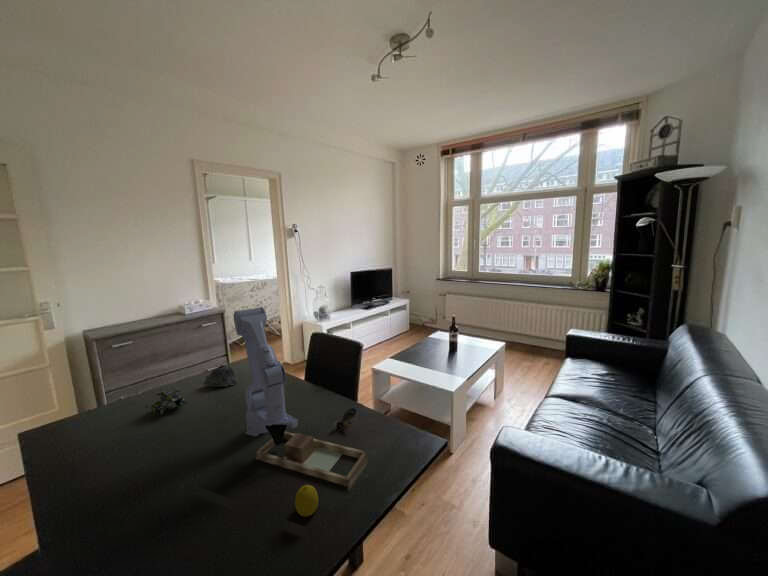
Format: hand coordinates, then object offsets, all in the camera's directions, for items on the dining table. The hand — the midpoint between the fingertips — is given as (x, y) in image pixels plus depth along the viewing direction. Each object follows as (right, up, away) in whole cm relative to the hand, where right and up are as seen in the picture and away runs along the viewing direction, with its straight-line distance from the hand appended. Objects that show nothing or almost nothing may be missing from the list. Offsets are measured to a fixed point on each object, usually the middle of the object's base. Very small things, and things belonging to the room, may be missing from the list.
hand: (278, 443), depth 102 cm
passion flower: (-54, -1, +28) cm, 60 cm away
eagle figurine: (+20, -1, +13) cm, 24 cm away
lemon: (+14, -7, -22) cm, 27 cm away
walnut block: (+7, -2, -3) cm, 8 cm away
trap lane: (+11, -4, -4) cm, 12 cm away
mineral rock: (-43, +3, +51) cm, 67 cm away
